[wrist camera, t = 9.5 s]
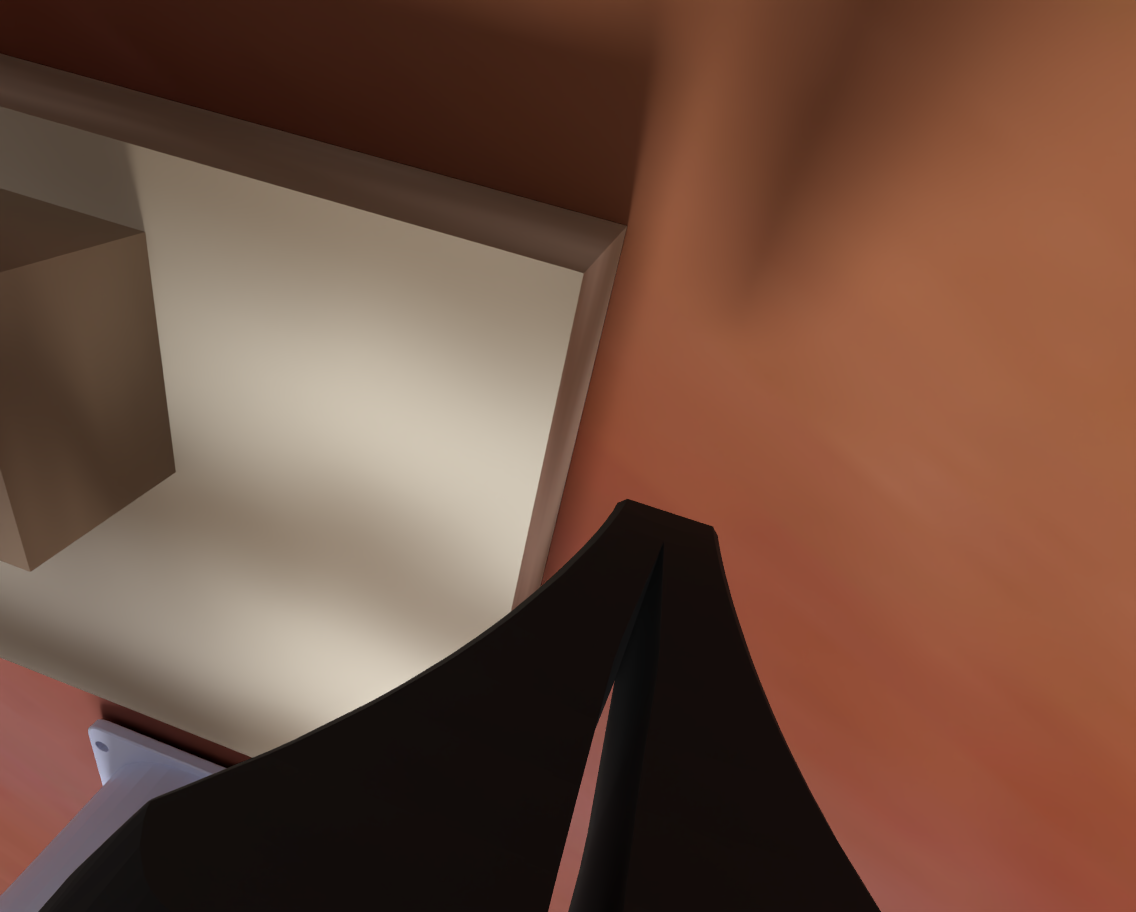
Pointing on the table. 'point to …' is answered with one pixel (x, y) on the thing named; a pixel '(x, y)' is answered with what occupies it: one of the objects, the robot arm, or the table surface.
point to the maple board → (307, 412)
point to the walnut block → (74, 377)
